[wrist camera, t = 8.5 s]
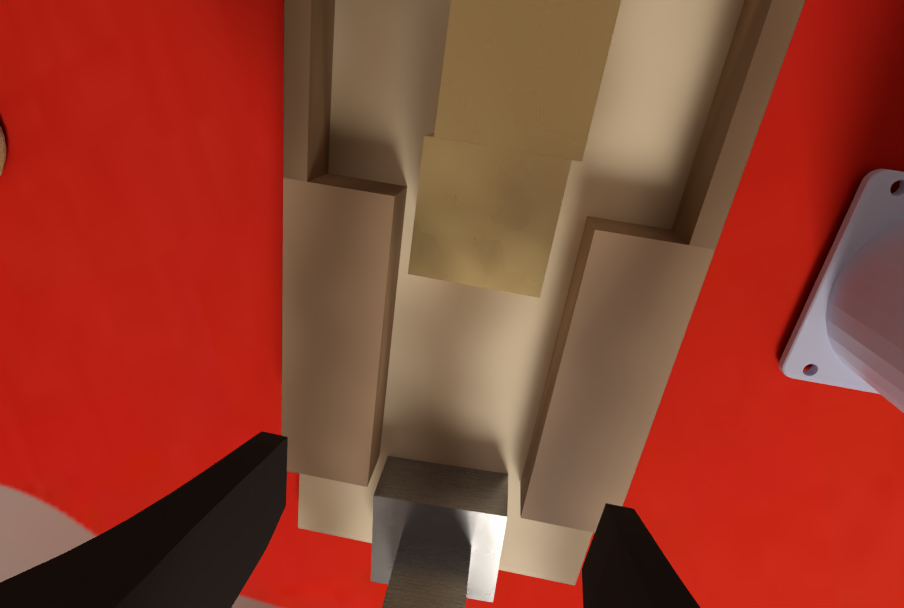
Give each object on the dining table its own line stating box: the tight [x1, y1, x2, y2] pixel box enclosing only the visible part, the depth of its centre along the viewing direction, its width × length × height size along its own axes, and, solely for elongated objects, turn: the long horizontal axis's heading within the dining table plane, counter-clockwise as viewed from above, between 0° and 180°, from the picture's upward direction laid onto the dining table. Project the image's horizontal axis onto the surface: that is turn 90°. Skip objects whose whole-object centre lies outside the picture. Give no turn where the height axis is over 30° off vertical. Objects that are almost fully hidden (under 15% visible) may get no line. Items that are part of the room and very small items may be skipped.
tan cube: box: [408, 132, 572, 298], centre depth 16 cm, size 4×4×4 cm
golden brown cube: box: [434, 0, 621, 162], centre depth 14 cm, size 4×4×4 cm
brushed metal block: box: [371, 456, 508, 608], centre depth 21 cm, size 6×5×6 cm
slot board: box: [282, 0, 805, 585], centre depth 19 cm, size 14×28×3 cm, turn 172°
